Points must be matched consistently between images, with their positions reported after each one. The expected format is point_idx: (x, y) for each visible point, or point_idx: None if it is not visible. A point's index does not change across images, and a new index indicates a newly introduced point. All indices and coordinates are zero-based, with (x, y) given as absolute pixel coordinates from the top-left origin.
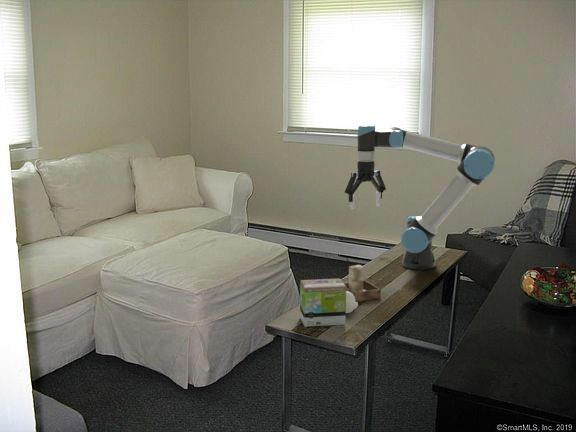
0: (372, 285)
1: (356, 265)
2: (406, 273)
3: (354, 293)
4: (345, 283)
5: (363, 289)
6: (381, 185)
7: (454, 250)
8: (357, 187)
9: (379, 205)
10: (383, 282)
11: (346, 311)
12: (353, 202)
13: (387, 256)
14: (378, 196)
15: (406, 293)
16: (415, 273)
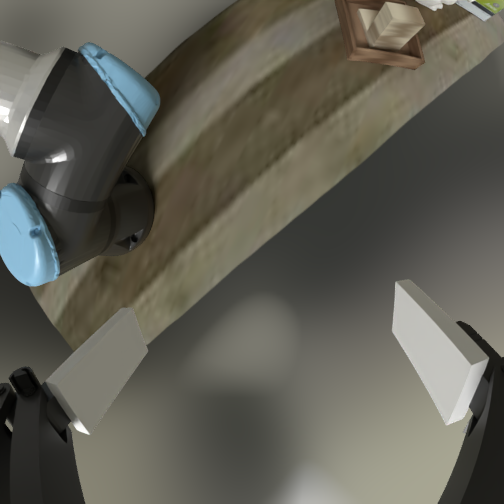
0: (348, 14)
1: (403, 18)
2: (174, 145)
3: (402, 1)
4: (409, 56)
5: (367, 29)
6: (4, 437)
7: (33, 289)
8: (476, 478)
9: (124, 313)
10: (275, 87)
11: None
12: (440, 310)
13: (160, 314)
14: (89, 370)
15: (258, 7)
16: (152, 139)
